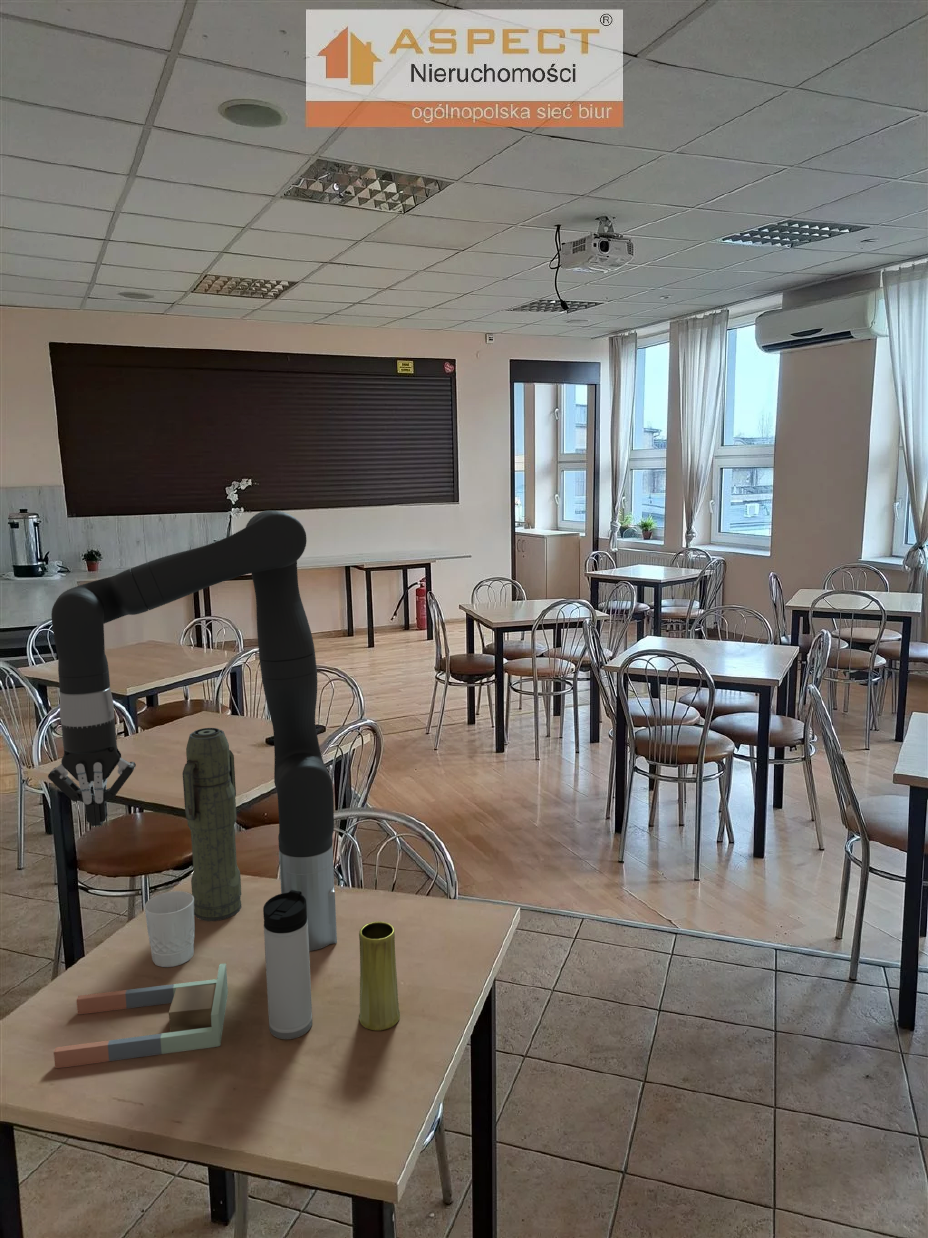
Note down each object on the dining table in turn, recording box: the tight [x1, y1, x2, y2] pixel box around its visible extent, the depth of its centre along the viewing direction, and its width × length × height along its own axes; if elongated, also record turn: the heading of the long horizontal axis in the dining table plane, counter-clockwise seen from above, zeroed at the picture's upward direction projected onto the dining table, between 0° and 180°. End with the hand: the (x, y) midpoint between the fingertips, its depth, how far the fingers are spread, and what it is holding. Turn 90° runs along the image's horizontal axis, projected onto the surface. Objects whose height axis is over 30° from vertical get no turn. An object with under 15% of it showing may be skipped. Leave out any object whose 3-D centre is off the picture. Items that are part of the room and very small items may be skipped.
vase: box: [358, 920, 401, 1032], centre depth 123 cm, size 6×6×14 cm
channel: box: [53, 962, 229, 1069], centre depth 122 cm, size 22×13×5 cm, turn 101°
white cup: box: [144, 890, 196, 968], centre depth 140 cm, size 8×8×10 cm
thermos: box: [182, 727, 242, 922], centre depth 154 cm, size 9×12×35 cm
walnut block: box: [168, 984, 216, 1032], centre depth 124 cm, size 6×6×4 cm
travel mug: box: [262, 890, 313, 1040], centre depth 121 cm, size 6×7×20 cm
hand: (97, 823), depth 130 cm, fingers closed
